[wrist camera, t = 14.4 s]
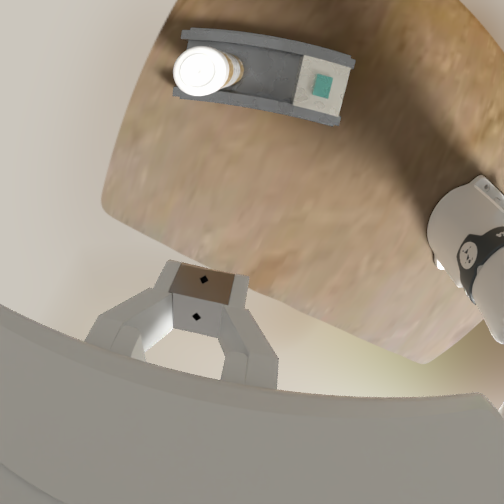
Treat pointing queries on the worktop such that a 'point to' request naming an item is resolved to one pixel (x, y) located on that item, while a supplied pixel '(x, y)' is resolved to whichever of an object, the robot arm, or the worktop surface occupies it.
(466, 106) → the worktop surface
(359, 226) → the worktop surface
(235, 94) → the rail
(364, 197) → the worktop surface
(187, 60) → the sprinkles bottle
